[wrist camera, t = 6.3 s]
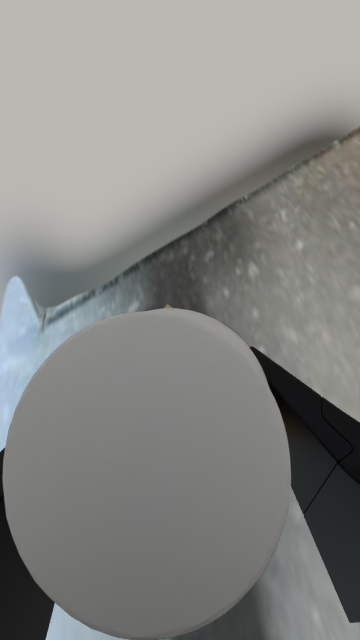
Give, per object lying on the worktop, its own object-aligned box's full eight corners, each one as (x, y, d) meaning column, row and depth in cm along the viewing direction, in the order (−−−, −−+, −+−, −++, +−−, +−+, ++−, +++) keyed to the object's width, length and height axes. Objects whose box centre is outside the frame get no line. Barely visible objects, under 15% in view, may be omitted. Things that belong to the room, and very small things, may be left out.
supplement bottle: (231, 343, 16) (368, 280, 3) (222, 434, 15) (384, 843, 2) (149, 332, 17) (12, 242, 4) (133, 417, 15) (-131, 667, 3)
